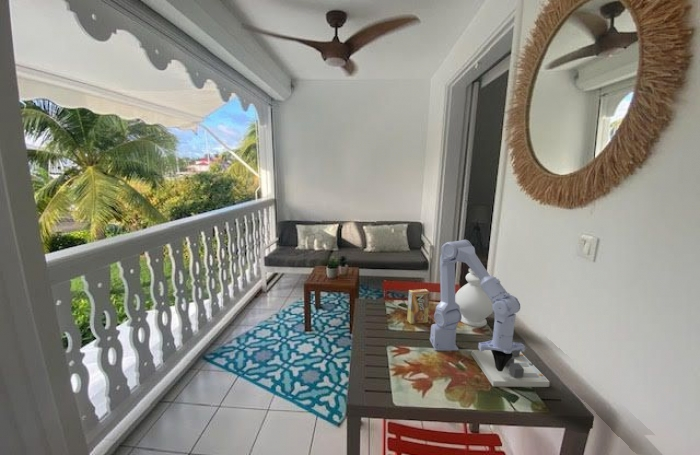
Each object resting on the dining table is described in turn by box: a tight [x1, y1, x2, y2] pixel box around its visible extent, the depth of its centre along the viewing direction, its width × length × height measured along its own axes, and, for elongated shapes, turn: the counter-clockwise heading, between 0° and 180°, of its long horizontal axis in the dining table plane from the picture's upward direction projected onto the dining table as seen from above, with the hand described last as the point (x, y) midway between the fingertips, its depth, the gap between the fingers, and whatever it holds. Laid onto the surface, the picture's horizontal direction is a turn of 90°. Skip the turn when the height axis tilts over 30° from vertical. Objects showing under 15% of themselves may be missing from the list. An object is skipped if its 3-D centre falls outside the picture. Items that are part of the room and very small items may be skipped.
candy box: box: [406, 288, 431, 325], centre depth 133 cm, size 9×4×15 cm, turn 103°
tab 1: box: [511, 350, 521, 357], centre depth 107 cm, size 3×3×3 cm
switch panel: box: [470, 349, 550, 388], centre depth 102 cm, size 18×17×2 cm
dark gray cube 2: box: [505, 356, 514, 366], centre depth 101 cm, size 3×3×3 cm
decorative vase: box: [455, 267, 494, 328], centre depth 135 cm, size 18×18×25 cm
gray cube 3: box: [509, 363, 524, 377], centre depth 96 cm, size 3×3×3 cm
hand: (498, 369), depth 96 cm, fingers closed
